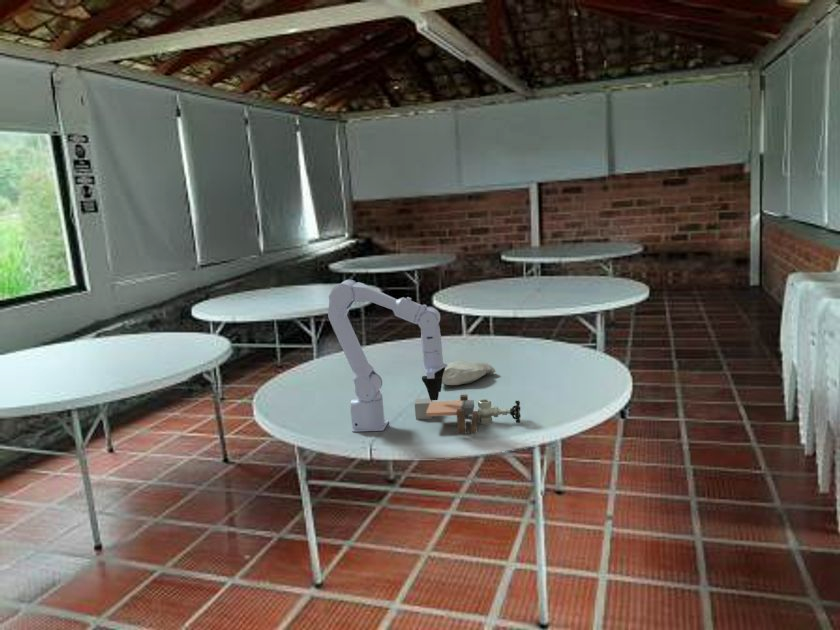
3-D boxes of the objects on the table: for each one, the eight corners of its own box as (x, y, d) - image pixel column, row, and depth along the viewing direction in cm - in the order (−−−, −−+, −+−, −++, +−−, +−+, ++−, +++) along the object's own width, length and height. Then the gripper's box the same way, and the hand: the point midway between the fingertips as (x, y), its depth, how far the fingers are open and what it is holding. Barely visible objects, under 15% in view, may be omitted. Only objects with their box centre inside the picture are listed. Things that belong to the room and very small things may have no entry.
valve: (477, 426, 188) (519, 426, 185) (475, 404, 187) (517, 404, 184) (480, 418, 194) (521, 418, 191) (478, 397, 193) (519, 397, 190)
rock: (500, 359, 239) (461, 367, 219) (500, 379, 239) (461, 389, 219) (456, 357, 251) (416, 364, 231) (457, 375, 251) (416, 385, 231)
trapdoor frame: (458, 433, 183) (456, 411, 182) (462, 415, 198) (460, 394, 197) (476, 433, 183) (474, 410, 181) (478, 414, 197) (477, 394, 196)
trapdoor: (426, 418, 187) (425, 411, 186) (430, 406, 196) (430, 400, 196) (472, 416, 185) (471, 409, 184) (474, 404, 194) (473, 398, 194)
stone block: (415, 419, 198) (414, 403, 197) (418, 414, 203) (416, 398, 202) (431, 419, 198) (430, 403, 197) (433, 413, 202) (432, 398, 201)
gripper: (443, 355, 180) (447, 403, 182) (448, 343, 194) (451, 387, 197) (417, 357, 181) (422, 404, 184) (424, 344, 195) (428, 388, 198)
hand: (435, 395), depth 190 cm, fingers open, 7 cm apart
